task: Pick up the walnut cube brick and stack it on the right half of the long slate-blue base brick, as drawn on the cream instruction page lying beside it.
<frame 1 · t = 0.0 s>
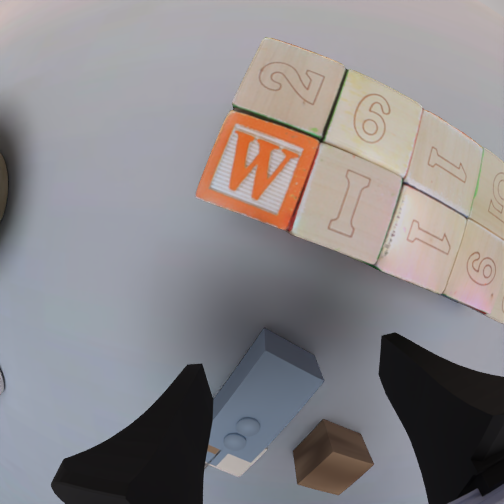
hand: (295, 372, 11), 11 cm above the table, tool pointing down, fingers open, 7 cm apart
stack of blocks: (380, 222, 21), on the table
base brick: (257, 385, 23), on the table
walnut brick: (327, 442, 23), on the table
instruction page: (219, 448, 24), on the table
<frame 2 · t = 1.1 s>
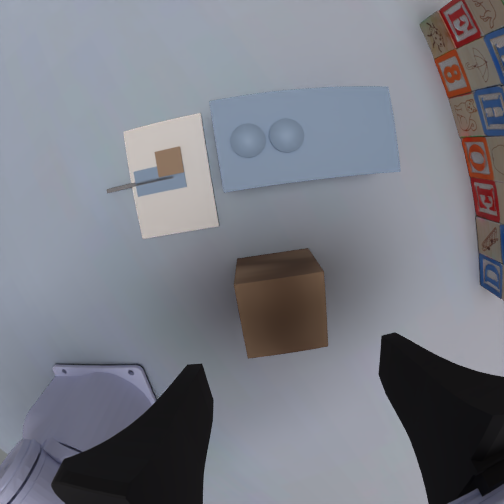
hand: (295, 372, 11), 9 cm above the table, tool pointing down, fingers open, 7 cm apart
stack of blocks: (487, 150, 18), on the table
base brick: (298, 139, 17), on the table
walnut brick: (277, 285, 20), on the table
instruction page: (169, 176, 18), on the table
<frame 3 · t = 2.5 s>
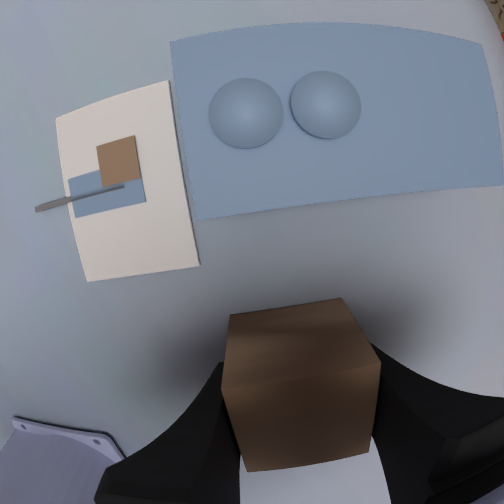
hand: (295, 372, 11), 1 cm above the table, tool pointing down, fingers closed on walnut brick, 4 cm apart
base brick: (330, 123, 10), on the table
walnut brick: (291, 352, 13), on the table, touching gripper
instruction page: (120, 185, 11), on the table
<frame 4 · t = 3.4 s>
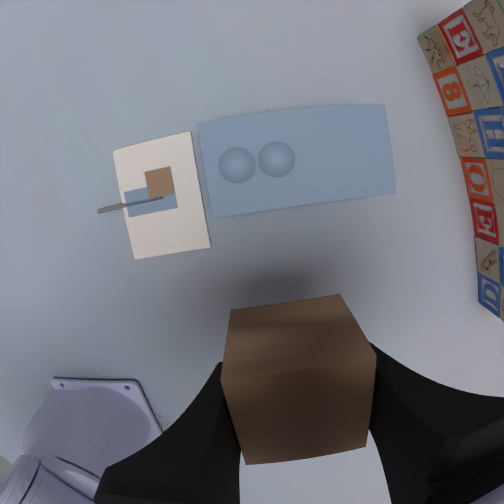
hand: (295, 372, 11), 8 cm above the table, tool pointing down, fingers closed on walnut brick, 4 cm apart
stack of blocks: (487, 167, 17), on the table
base brick: (291, 158, 17), on the table
walnut brick: (291, 347, 13), point 7 cm above the table, touching gripper
instruction page: (160, 197, 18), on the table
when the fingers open (6 cm above the table, at t = 4.7 s): walnut brick stays where it is, resting on base brick.
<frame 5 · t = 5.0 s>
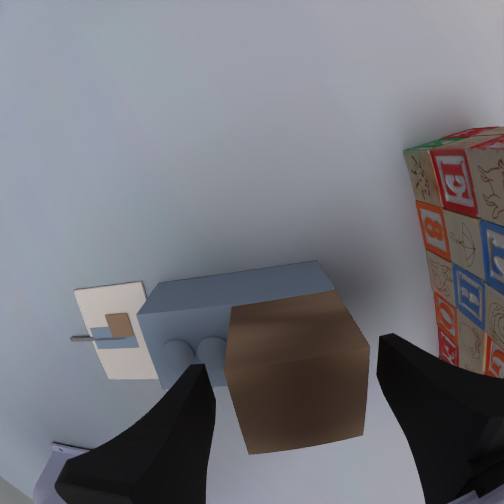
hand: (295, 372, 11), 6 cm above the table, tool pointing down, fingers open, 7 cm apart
stack of blocks: (465, 288, 18), on the table
base brick: (242, 308, 18), on the table
walnut brick: (289, 342, 14), point 4 cm above the table, touching base brick
instruction page: (122, 335, 18), on the table
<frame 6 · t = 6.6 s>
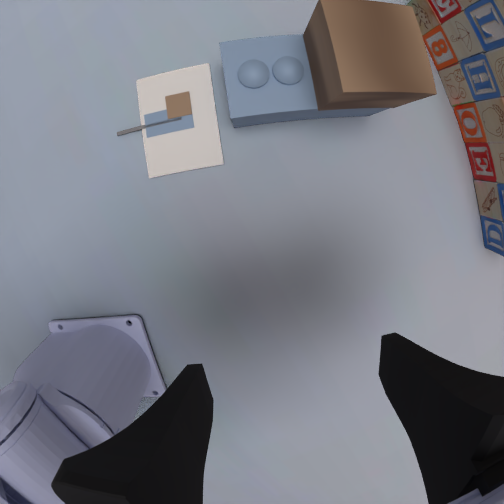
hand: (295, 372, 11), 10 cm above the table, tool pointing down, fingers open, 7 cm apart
stack of blocks: (478, 118, 18), on the table
base brick: (298, 87, 18), on the table
walnut brick: (350, 70, 14), point 4 cm above the table, touching base brick
instruction page: (178, 119, 18), on the table
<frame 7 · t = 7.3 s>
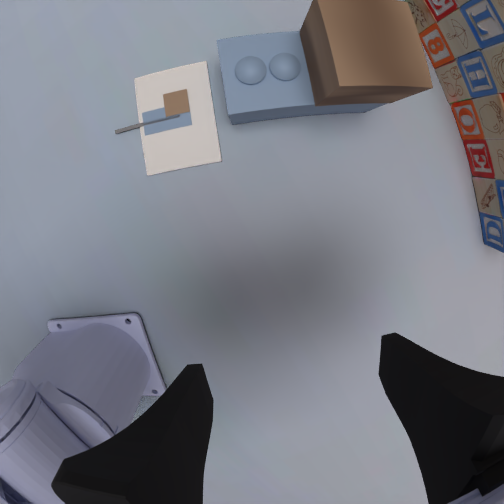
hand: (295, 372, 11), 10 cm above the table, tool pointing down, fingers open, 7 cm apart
stack of blocks: (476, 115, 18), on the table
base brick: (295, 84, 18), on the table
walnut brick: (346, 66, 14), point 4 cm above the table, touching base brick
instruction page: (176, 117, 18), on the table
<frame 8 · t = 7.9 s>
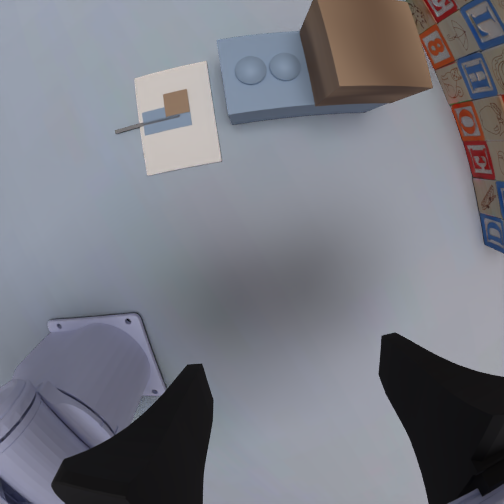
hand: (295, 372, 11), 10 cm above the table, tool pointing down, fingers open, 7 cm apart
stack of blocks: (476, 116, 18), on the table
base brick: (295, 84, 18), on the table
walnut brick: (346, 66, 14), point 4 cm above the table, touching base brick
instruction page: (176, 117, 18), on the table
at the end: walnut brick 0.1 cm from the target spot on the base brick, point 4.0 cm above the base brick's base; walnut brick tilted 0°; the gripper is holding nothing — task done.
